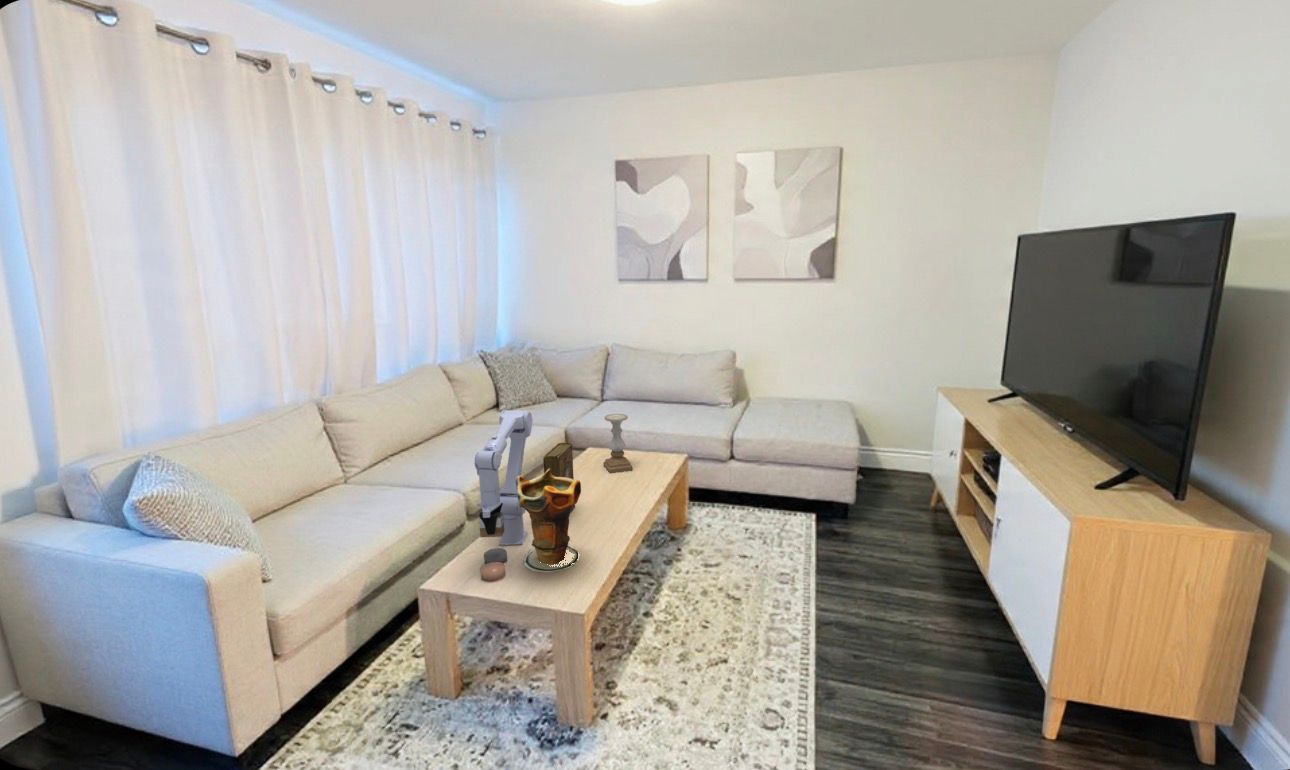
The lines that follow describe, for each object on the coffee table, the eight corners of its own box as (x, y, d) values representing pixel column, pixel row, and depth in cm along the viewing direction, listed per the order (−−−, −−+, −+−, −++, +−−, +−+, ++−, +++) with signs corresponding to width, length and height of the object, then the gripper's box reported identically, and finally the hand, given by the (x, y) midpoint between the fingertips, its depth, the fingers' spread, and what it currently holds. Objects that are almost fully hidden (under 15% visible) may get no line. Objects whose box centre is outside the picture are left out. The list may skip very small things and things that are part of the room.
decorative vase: (550, 534, 205) (548, 456, 198) (599, 557, 191) (599, 474, 184) (500, 558, 189) (496, 475, 182) (550, 585, 175) (547, 496, 168)
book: (562, 505, 230) (559, 442, 225) (576, 506, 229) (573, 443, 224) (547, 523, 214) (543, 456, 209) (561, 524, 213) (558, 457, 208)
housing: (483, 531, 188) (482, 513, 187) (504, 530, 188) (503, 512, 187) (480, 537, 184) (479, 518, 183) (501, 536, 184) (500, 518, 183)
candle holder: (603, 465, 273) (601, 414, 268) (626, 462, 276) (624, 412, 271) (609, 473, 263) (607, 420, 258) (633, 470, 266) (631, 418, 261)
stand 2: (484, 570, 183) (483, 562, 182) (507, 568, 183) (506, 561, 183) (479, 582, 176) (478, 574, 176) (503, 580, 176) (502, 573, 176)
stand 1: (486, 555, 192) (486, 548, 191) (509, 554, 192) (508, 547, 192) (482, 566, 185) (481, 559, 184) (505, 565, 185) (504, 558, 185)
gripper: (481, 481, 190) (484, 521, 193) (471, 498, 176) (474, 541, 179) (504, 480, 191) (506, 520, 193) (495, 497, 176) (498, 540, 179)
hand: (492, 530), depth 186 cm, fingers closed on housing, 4 cm apart
